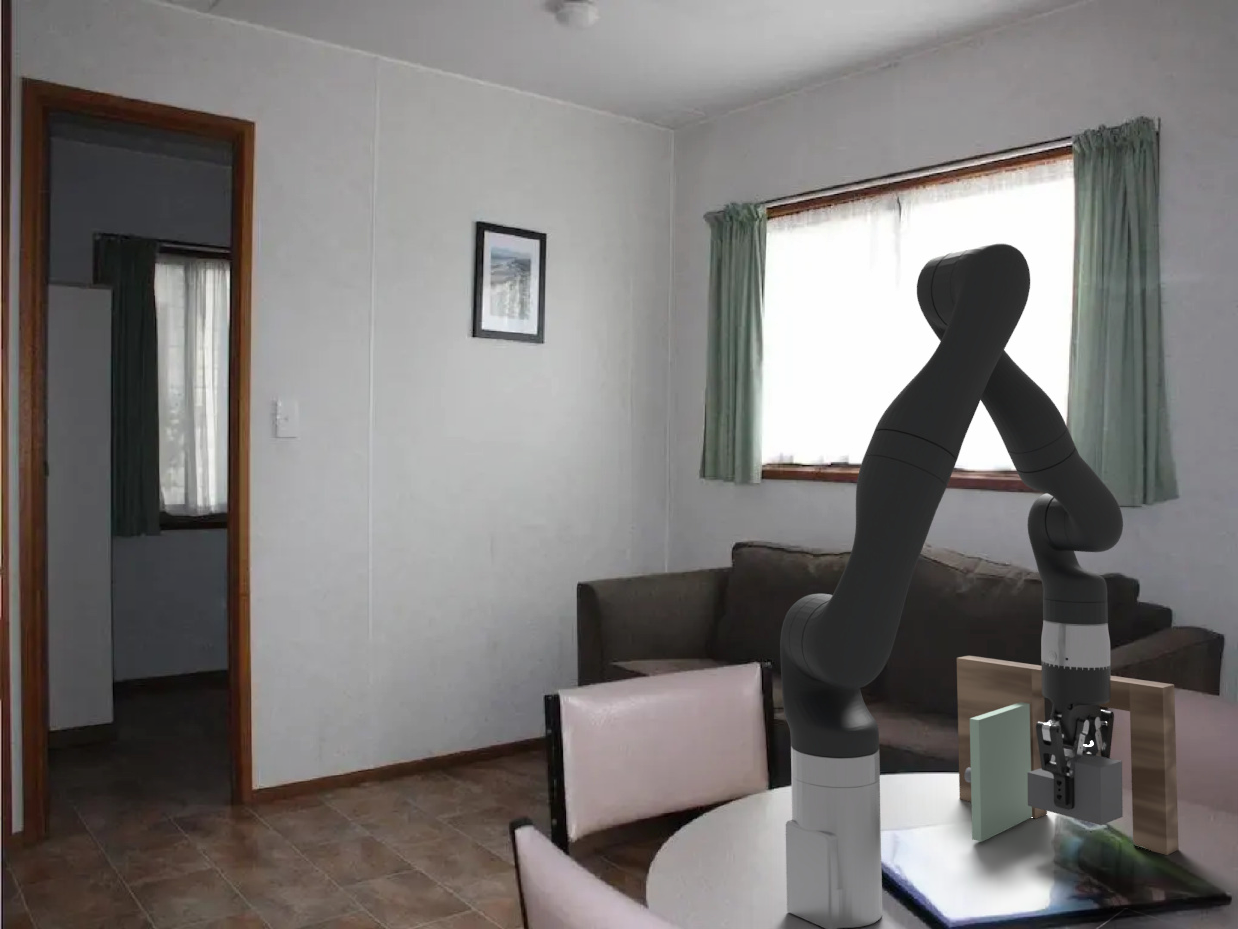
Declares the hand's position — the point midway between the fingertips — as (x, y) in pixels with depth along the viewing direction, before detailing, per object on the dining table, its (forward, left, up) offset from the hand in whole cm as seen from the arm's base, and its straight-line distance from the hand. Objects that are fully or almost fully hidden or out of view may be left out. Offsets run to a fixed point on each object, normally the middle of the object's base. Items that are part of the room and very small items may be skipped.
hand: (1076, 802), depth 120 cm
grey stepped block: (0, 0, -1) cm, 1 cm away
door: (+2, +12, -6) cm, 13 cm away
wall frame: (+11, +8, -7) cm, 16 cm away
